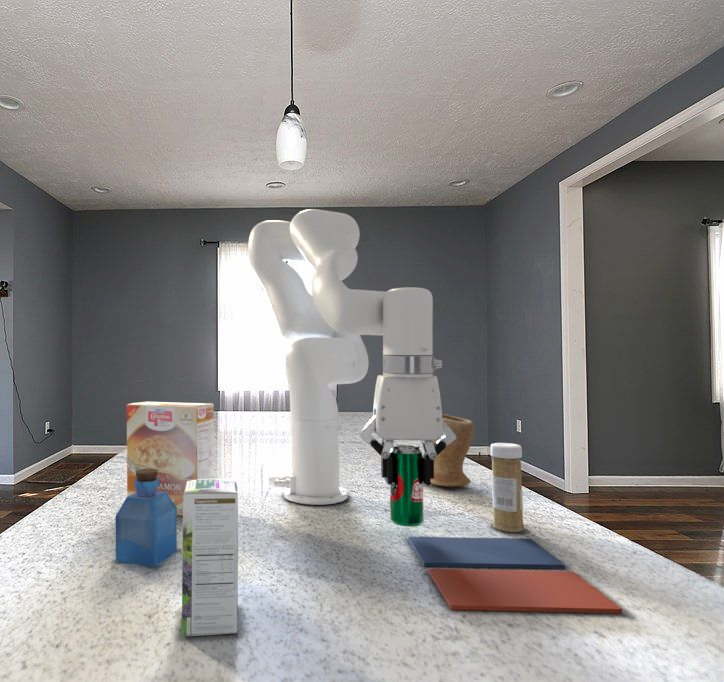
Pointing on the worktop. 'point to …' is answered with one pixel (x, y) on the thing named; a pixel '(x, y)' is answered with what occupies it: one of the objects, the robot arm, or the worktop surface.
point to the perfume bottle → (146, 523)
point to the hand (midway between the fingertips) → (407, 481)
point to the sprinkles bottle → (507, 487)
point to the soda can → (407, 486)
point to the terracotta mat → (520, 591)
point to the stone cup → (453, 454)
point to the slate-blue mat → (483, 552)
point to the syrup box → (210, 557)
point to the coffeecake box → (170, 445)
